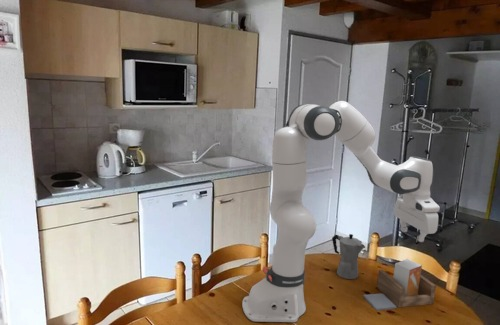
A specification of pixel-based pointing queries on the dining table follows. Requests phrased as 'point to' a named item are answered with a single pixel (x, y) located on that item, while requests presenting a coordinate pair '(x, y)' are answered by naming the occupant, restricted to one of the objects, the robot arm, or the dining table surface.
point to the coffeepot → (348, 255)
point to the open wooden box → (397, 291)
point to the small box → (408, 276)
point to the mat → (379, 301)
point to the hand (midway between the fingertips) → (411, 236)
